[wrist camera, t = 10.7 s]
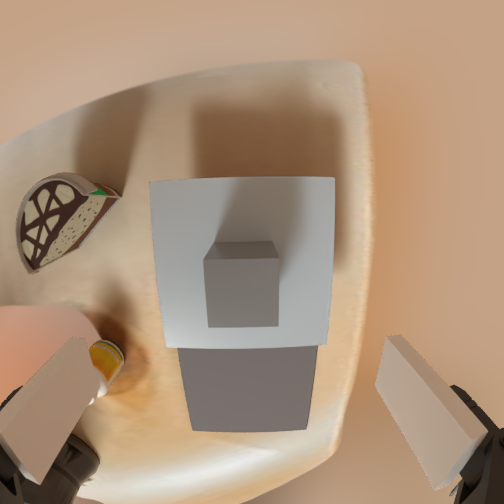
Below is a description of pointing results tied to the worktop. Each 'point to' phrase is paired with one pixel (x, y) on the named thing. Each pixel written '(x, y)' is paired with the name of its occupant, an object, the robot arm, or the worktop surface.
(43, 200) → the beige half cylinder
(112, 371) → the supplement bottle
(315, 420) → the worktop surface
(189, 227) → the lid
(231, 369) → the tray
